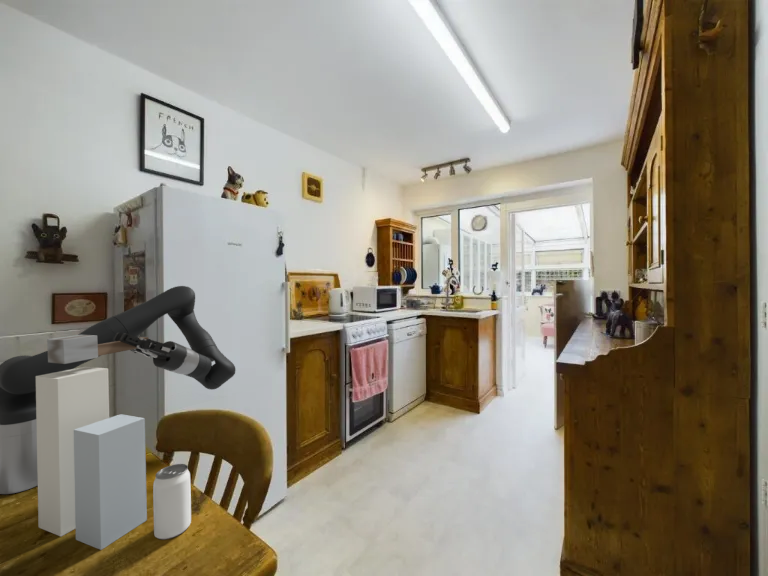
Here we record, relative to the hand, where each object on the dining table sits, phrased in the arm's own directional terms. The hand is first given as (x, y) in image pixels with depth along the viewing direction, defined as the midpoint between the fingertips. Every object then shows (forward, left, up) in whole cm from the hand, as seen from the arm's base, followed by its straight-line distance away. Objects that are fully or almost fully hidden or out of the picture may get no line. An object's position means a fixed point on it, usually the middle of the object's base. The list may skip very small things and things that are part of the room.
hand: (119, 336), depth 80 cm
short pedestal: (+12, -9, -39) cm, 41 cm away
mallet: (0, -3, -4) cm, 5 cm away
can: (+24, -5, -39) cm, 46 cm away
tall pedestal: (0, -9, -39) cm, 40 cm away
